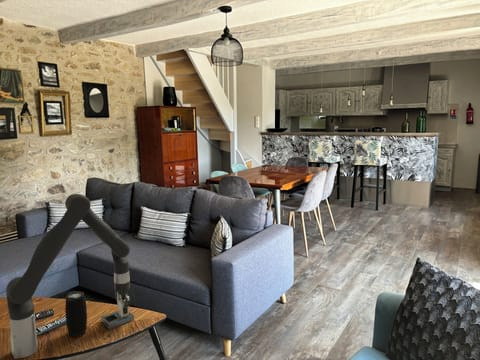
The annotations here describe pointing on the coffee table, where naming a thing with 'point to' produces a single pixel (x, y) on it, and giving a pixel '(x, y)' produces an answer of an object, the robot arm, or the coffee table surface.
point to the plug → (121, 309)
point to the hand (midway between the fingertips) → (123, 311)
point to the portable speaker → (76, 313)
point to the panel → (116, 319)
